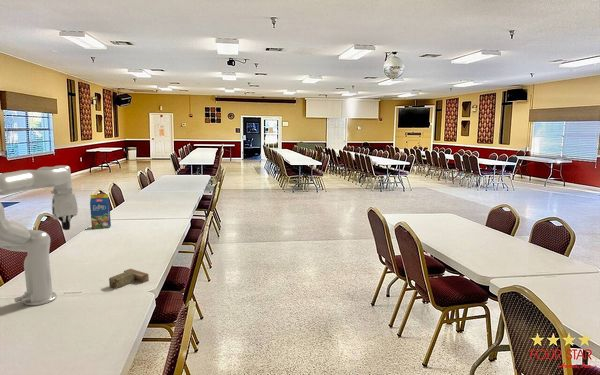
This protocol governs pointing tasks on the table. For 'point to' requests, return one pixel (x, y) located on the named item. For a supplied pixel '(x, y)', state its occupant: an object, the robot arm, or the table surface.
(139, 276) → the brown rectangular bar
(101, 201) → the blue food package
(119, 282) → the stone block
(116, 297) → the table surface
